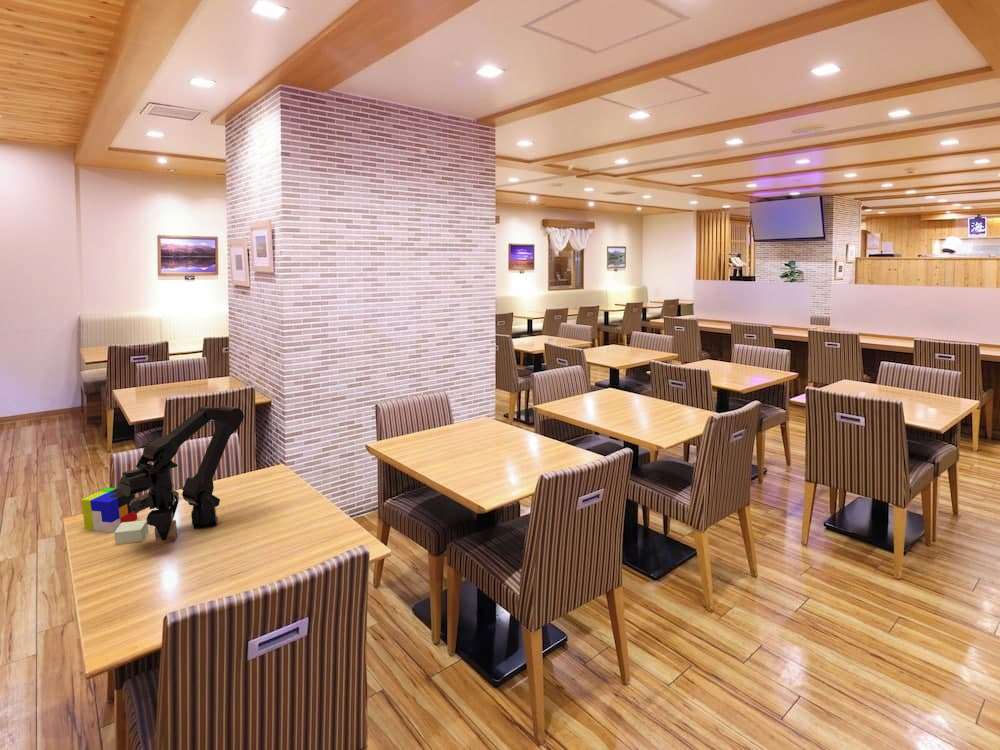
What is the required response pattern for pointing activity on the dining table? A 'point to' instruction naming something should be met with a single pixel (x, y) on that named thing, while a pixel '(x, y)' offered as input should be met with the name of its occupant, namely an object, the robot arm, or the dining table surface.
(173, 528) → the walnut cube
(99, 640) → the dining table surface
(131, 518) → the puzzle toy
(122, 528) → the base block
